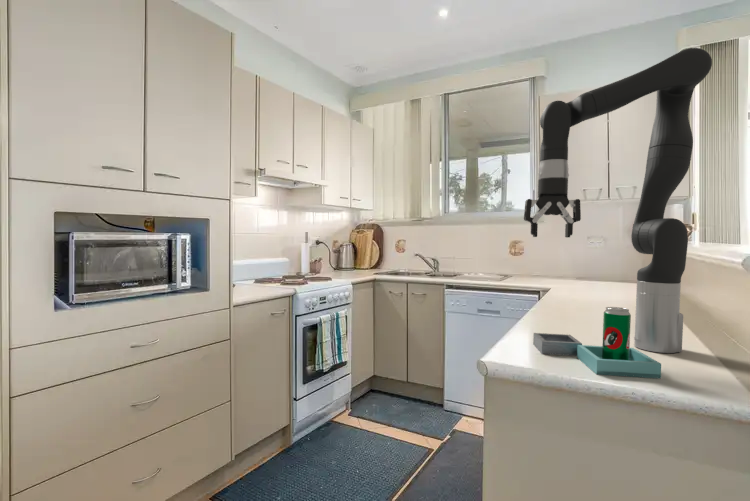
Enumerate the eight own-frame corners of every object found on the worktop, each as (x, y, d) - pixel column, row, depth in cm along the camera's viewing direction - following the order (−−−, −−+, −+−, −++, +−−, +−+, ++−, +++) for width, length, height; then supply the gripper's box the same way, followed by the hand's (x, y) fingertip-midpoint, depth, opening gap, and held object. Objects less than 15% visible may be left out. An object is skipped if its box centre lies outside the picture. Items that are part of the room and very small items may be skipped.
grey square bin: (569, 346, 106) (570, 334, 106) (581, 356, 97) (582, 343, 97) (533, 344, 107) (533, 332, 107) (541, 353, 99) (542, 341, 98)
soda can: (632, 368, 86) (635, 311, 86) (606, 366, 87) (608, 309, 87) (623, 361, 91) (625, 307, 91) (598, 359, 92) (600, 306, 92)
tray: (632, 360, 94) (633, 347, 94) (660, 378, 82) (661, 363, 82) (577, 357, 96) (577, 344, 96) (596, 374, 84) (597, 359, 84)
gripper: (576, 179, 115) (574, 237, 116) (523, 180, 117) (521, 236, 118) (585, 175, 108) (583, 237, 108) (528, 176, 110) (527, 236, 110)
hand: (551, 237), depth 113 cm, fingers open, 8 cm apart
